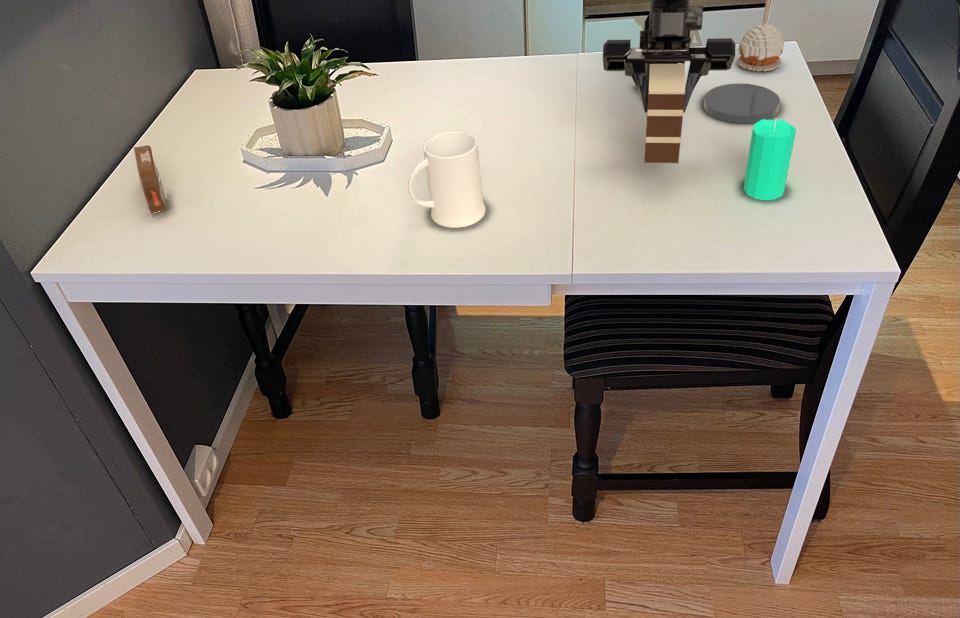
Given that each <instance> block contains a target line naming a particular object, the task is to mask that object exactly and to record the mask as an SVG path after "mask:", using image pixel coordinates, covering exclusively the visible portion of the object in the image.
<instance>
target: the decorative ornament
mask: <svg viewBox="0 0 960 618" xmlns="http://www.w3.org/2000/svg"><path fill="white" fill-rule="evenodd" d="M770 5H771V0H765V5H764V12H763V18H762V23H761V24H756V25H752V27H750V29H747V30H746V32H744V33H743V38H742V39H740V41H739V43H738V51H739V53H738V54H739V55H740V56H739V57H738V59H737V65H738V66H739V67H740V68H742V69H747V70H748V71H753V72H754V71H756V72H761V71H763V72H768V71H773V70H776V68H779V66H780V65H781V64H782V61H781V58H780V57H781V55H782V54H783V52H784V46H785V39H784V38H783V33H782V32H780V30H779V29H778V28H777V27H776V26H774V25H772V24H769V23H768V19H769V13H770Z"/></svg>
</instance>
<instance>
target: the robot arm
mask: <svg viewBox="0 0 960 618" xmlns="http://www.w3.org/2000/svg"><path fill="white" fill-rule="evenodd" d="M649 4H650V5H649V14H647V16H646V17H645V19H644V24H643V25H644V26H643V27H644V28H643V30H640V32H639V45H638V46H637V47H633V46H632V47H631V41H632V40H631V39H607V40H606V41H605V42H604V43H603V47H602V65H603V70H604V71H605V72H624V76H626V77H631V79H632V81H633V83H634V85H635V87H636V90H637V92H638V95H639V98H640V102H641V105H642V109H643V112H644V113H645V114H647V109H648V86H649V69H650V64H686V62H689V67H688V70H687V77H686V80H685V99H684V109H683V114H685V113H686V111H687V108H688V106H689V102H690V99H691V98H692V95H693V92H694V90H695V88H696V86H697V85H698V82H699V81H700V79H701V78H702V77H706V76H708V75H709V72H710V71H712V72H713V71H714V72H715V71H716V72H717V71H729V70H732V66H733V63H734V61H735V57H736V42H735V40H734V39H733V38H732V37H731V38H730V37H729V38H728V37H727V38H707V39H706V43H705V46H696V47H695V46H692V47H691V45H692V38H691V31H700V30H702V28H703V19H704V18H703V17H704V5H691V0H650V3H649Z"/></svg>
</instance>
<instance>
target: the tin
mask: <svg viewBox="0 0 960 618" xmlns="http://www.w3.org/2000/svg"><path fill="white" fill-rule="evenodd" d="M133 152H134V157H135V163H136V169H137V172H138V173H137V174H138V176H139V181H140V184H141V185H140V186H141V188H142V191H143V194H144V197H145V201H146V204H147V207H148V209H149V212H150V215H154V214H155V213H154V212H157V213H156V214H158V213H159V212H158V211H161V212H160V213H162V212H166V211H167V210H168V206H167V200H166V196H165V192H164V187H163V184H162V180H161V179H160V181H159V176H160V173H159V171H158V168H157V166H156V164H155V160H154V156H153V151H152V147H151V145H141V146H134V147H133ZM166 208H167V209H166ZM165 209H166V210H165ZM163 210H165V211H163ZM152 213H153V214H152Z"/></svg>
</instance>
